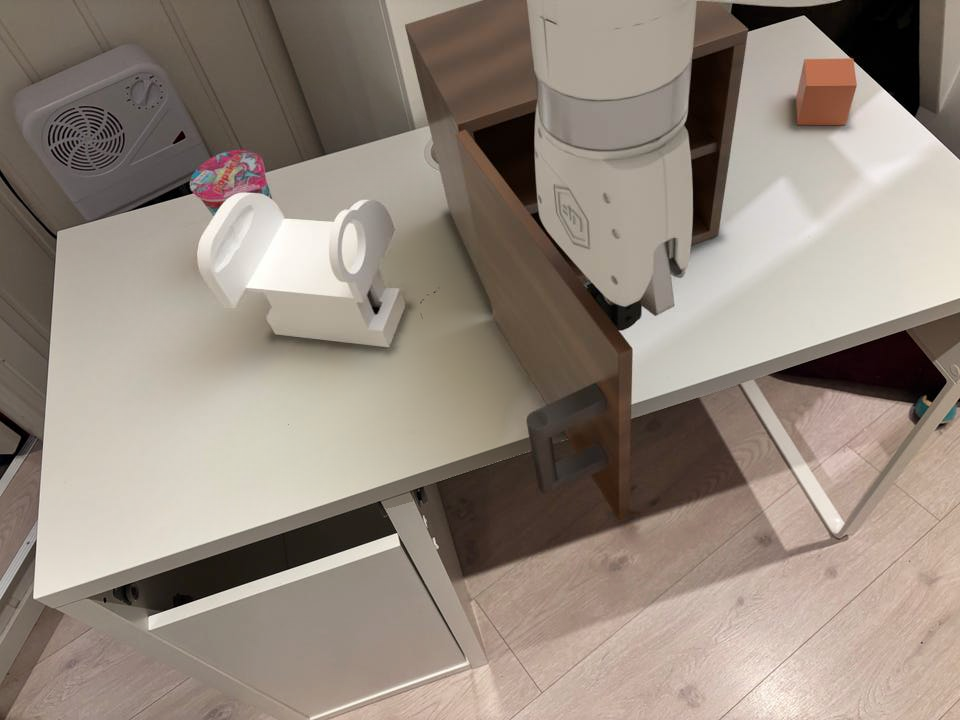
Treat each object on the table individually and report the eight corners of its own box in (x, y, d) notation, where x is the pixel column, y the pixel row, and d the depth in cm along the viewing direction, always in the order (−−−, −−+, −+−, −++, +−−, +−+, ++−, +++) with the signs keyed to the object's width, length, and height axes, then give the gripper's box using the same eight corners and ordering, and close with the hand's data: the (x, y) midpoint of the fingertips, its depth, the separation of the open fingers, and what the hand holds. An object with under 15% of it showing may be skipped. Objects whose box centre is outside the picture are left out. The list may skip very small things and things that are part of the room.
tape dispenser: (413, 287, 85) (372, 161, 71) (378, 379, 78) (324, 259, 64) (303, 277, 89) (242, 155, 74) (259, 364, 81) (183, 247, 67)
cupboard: (718, 235, 83) (748, 28, 63) (495, 313, 81) (457, 124, 61) (647, 145, 94) (654, -55, 74) (449, 211, 92) (404, 24, 72)
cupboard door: (559, 550, 64) (534, 394, 45) (444, 340, 79) (389, 159, 60) (629, 515, 65) (633, 348, 45) (502, 315, 80) (465, 128, 61)
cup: (226, 277, 91) (180, 202, 81) (242, 229, 96) (200, 153, 86) (299, 271, 89) (261, 194, 80) (311, 222, 94) (276, 145, 85)
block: (842, 98, 93) (853, 58, 89) (845, 125, 90) (857, 85, 86) (795, 98, 95) (804, 58, 90) (797, 125, 92) (806, 85, 87)
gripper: (478, 53, 41) (516, 279, 55) (634, 201, 32) (631, 423, 47) (594, 2, 42) (601, 236, 57) (776, 132, 33) (729, 370, 48)
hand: (615, 320), depth 52 cm, fingers closed
